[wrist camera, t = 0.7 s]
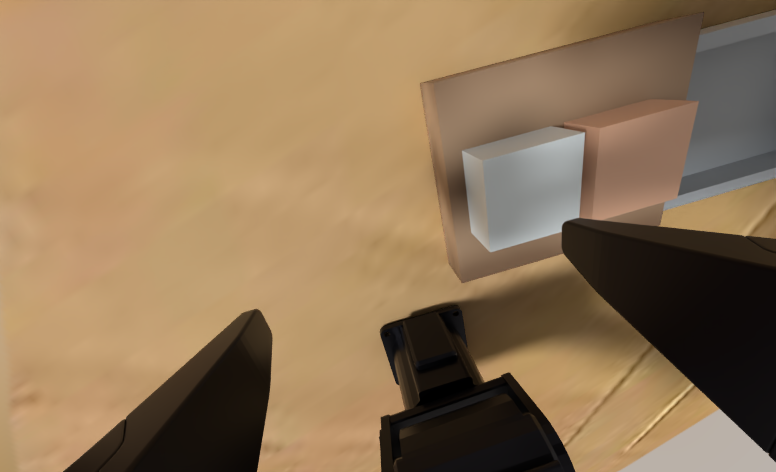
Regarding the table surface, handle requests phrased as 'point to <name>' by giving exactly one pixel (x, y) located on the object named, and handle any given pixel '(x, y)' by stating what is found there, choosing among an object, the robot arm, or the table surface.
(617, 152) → the tile terracotta
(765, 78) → the tray
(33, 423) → the table surface
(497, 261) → the walnut board
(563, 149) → the white block
